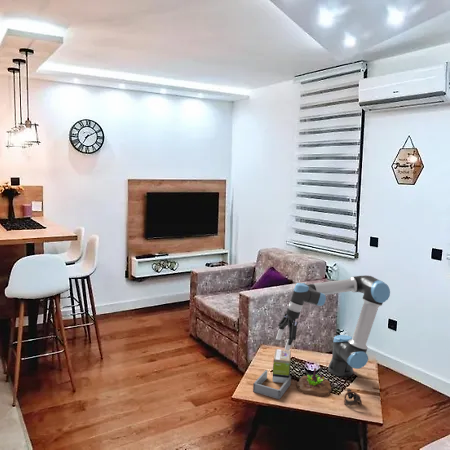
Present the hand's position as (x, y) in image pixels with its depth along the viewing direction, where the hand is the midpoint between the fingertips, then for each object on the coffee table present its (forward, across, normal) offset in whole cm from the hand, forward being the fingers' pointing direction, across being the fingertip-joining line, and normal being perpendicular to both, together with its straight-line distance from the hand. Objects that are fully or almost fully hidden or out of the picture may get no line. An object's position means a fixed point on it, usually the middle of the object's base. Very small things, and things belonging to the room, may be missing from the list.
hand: (282, 344), depth 262 cm
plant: (+21, +2, +28) cm, 35 cm away
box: (+27, -1, +4) cm, 27 cm away
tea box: (+24, -13, +14) cm, 31 cm away
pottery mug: (+17, +22, +40) cm, 49 cm away
